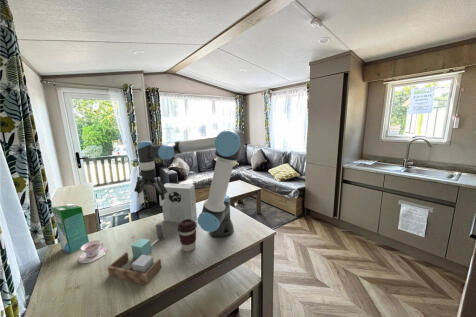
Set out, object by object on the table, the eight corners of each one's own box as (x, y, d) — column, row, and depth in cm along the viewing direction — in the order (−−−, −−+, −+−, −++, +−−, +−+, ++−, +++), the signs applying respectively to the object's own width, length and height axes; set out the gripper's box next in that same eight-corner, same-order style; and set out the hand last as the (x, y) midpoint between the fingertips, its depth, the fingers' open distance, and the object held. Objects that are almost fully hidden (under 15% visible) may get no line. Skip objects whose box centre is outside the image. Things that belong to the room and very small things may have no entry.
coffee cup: (201, 243, 106) (199, 219, 103) (191, 255, 97) (189, 228, 94) (186, 240, 109) (184, 216, 106) (175, 251, 100) (172, 225, 97)
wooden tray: (161, 267, 89) (160, 258, 89) (146, 284, 80) (145, 275, 79) (127, 260, 95) (125, 252, 94) (109, 275, 85) (107, 267, 84)
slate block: (154, 269, 88) (152, 256, 87) (145, 280, 82) (143, 266, 81) (143, 267, 90) (141, 254, 88) (134, 277, 84) (131, 263, 83)
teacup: (75, 267, 91) (72, 255, 90) (82, 252, 102) (80, 241, 100) (105, 258, 96) (103, 247, 95) (108, 245, 107) (106, 235, 106)
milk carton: (89, 243, 108) (81, 203, 103) (70, 253, 100) (60, 210, 95) (80, 239, 112) (72, 200, 107) (61, 249, 104) (51, 207, 99)
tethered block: (166, 237, 112) (165, 223, 110) (142, 259, 95) (140, 243, 93) (158, 236, 114) (156, 222, 112) (133, 257, 96) (130, 241, 95)
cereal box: (197, 218, 134) (194, 184, 129) (192, 223, 126) (189, 188, 121) (169, 215, 139) (166, 183, 134) (163, 220, 131) (159, 186, 126)
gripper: (171, 167, 106) (174, 203, 111) (134, 166, 113) (139, 199, 117) (162, 171, 99) (166, 208, 103) (124, 169, 105) (129, 204, 110)
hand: (152, 203), depth 110 cm, fingers open, 13 cm apart
